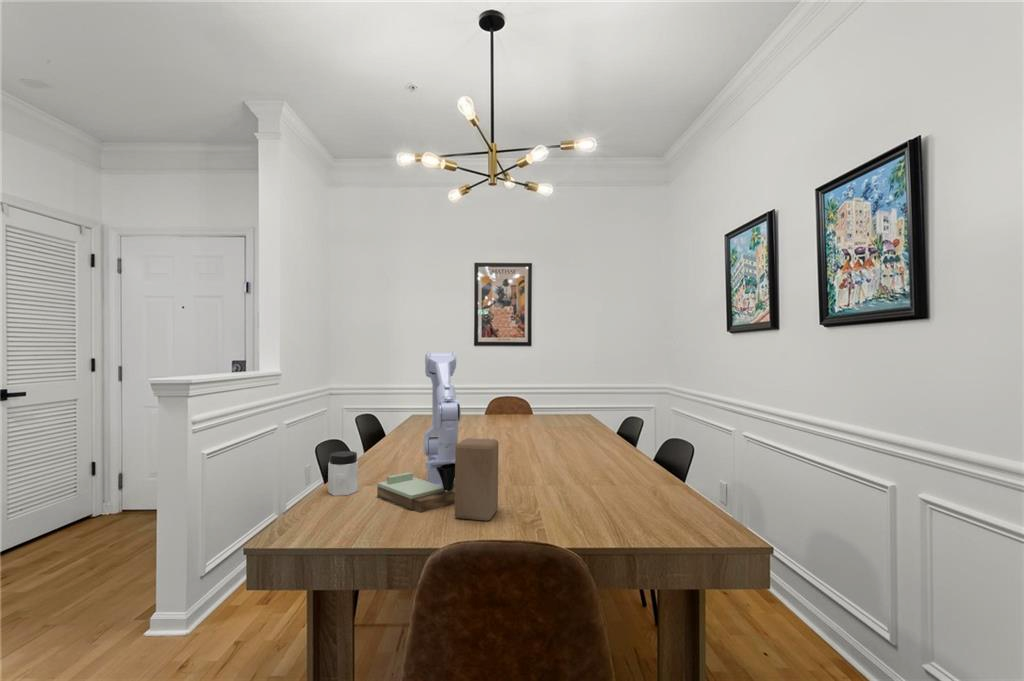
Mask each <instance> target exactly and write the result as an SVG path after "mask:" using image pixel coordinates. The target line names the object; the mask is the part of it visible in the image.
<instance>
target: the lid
mask: <svg viewBox="0 0 1024 681" xmlns="http://www.w3.org/2000/svg"><path fill="white" fill-rule="evenodd" d="M377 487H380V488H383V489H386V490H388V491H391V492H394V493H396V494H399V495H402V496H404V497H407V498H410V499H414V498H418V497H423V496H427V495H431V494H435V493H439V492H443V491H445V492H446V490H444V488H443V486H439V485H436V484H433V483H430V482H427V481H425V480H424V479H420V478H417V477H415V476H414V473H413V472H410V471H409V472H404V473H399V474H393V475H387V476H386V481H382V482H381V481H380V482H377Z"/></svg>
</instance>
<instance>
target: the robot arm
mask: <svg viewBox="0 0 1024 681" xmlns="http://www.w3.org/2000/svg"><path fill="white" fill-rule="evenodd" d="M424 356H425V357H424V359H425V360H424V365H425V367H424V369H425V371H424V373H425V376H426V377H427V378H430V381H431V383H432V386H431V387H432V391H431V392H432V396H431V397H432V400H431V401H432V411H431V413H432V417H431V418H432V425H431V427H430V428H428V429H427V430H426V431H425V432H424V434H423V435H424V436H423V437H424V438H423V454H424V456H425V457H427V460H426V461H425V469H427V479H426V480H424V481H427V482H430V483H433V484H436V485H439V486H443V488H444V490H446V491H450V490H451V489H452V485H453V482H454V480H455V447H456V444H458V443H459V422H460V421H461V420H460V419H461V404H460V402H459V399H457V392H456V389H455V386H454V385H453V384H452V383H451V377H452V376H454V374H455V371H456V368H457V354H456V352H454V351H452V352H450V351H449V352H448V351H447V352H446V351H445V352H443V351H442V352H441V351H438V352H436V351H435V352H434V351H433V352H431V351H427V352H426V353H425V355H424ZM446 491H445V492H446Z"/></svg>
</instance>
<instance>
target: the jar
mask: <svg viewBox="0 0 1024 681" xmlns="http://www.w3.org/2000/svg"><path fill="white" fill-rule="evenodd" d="M327 468H328V469H327V470H328V471H327V472H328V473H327V476H328V477H327V484H328V485H327V492H328V493H329V494H330V495H332V496H339V497H340V496H349V495H352V494H354V493H355V494H356V493H357V492H358V491H359V490H358V489H359V488H358V487H359V482H358V481H359V461H358V453H357V452H356V451H353V450H352V451H351V450H348V451H347V450H343V451H342V450H341V451H335V452H332V453H330V454H329V462H328V467H327Z"/></svg>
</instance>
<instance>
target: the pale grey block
mask: <svg viewBox="0 0 1024 681" xmlns="http://www.w3.org/2000/svg"><path fill="white" fill-rule="evenodd" d="M450 491H451V492H455V480H454V482H453V485H452V489H451V490H450Z"/></svg>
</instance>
